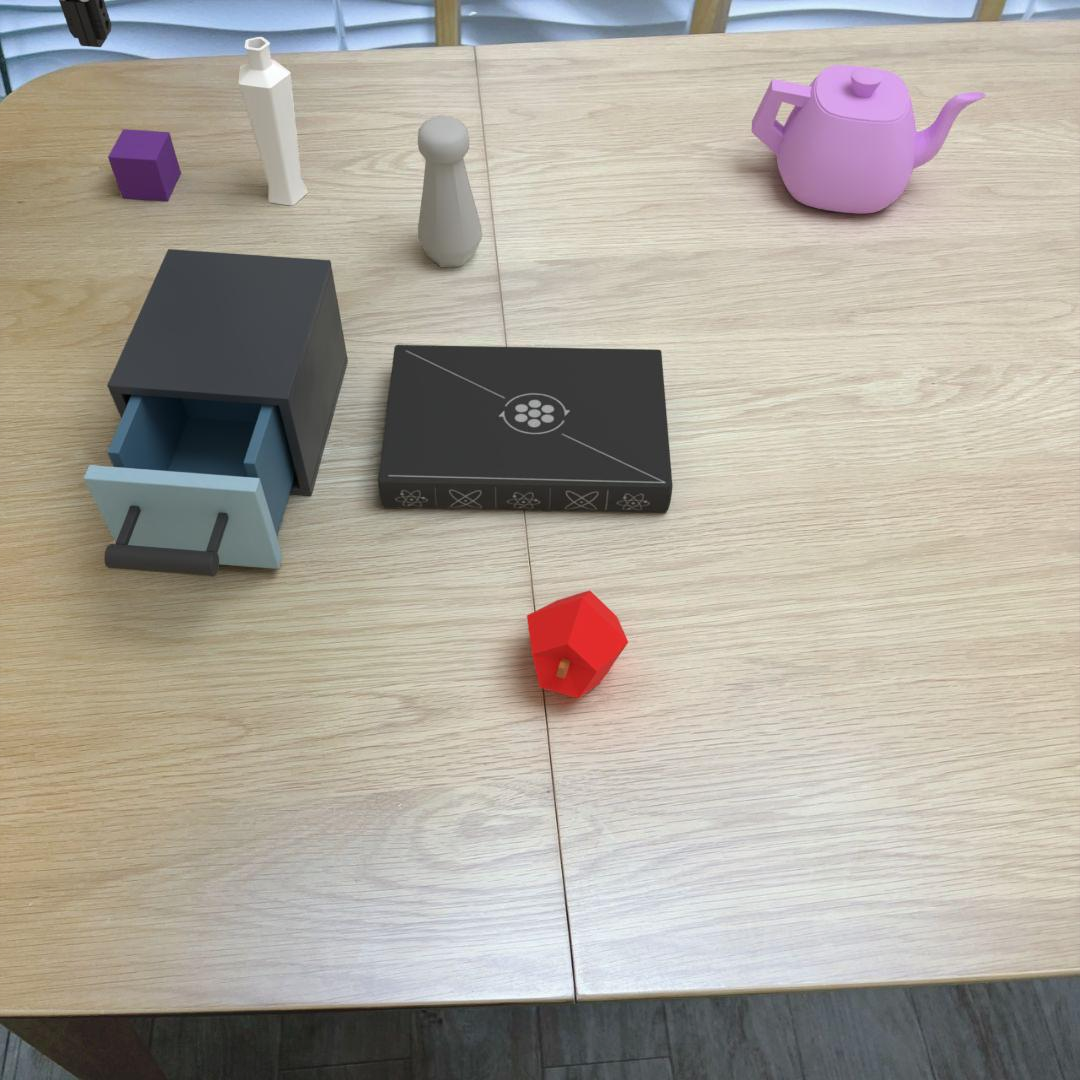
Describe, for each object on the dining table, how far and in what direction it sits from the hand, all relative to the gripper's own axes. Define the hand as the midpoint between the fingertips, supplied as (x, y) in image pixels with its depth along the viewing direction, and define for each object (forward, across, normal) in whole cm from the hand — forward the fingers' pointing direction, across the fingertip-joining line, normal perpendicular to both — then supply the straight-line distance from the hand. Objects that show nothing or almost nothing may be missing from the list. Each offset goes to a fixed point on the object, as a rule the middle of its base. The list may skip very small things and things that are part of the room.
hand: (94, 41), depth 85 cm
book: (+19, -36, +21) cm, 46 cm away
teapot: (+19, -64, -17) cm, 69 cm away
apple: (+19, -42, +40) cm, 61 cm away
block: (+19, +3, -8) cm, 21 cm away
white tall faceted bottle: (+19, -10, -8) cm, 23 cm away
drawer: (+18, -14, +31) cm, 39 cm away
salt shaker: (+19, -27, -1) cm, 33 cm away
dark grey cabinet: (+19, -14, +21) cm, 32 cm away
